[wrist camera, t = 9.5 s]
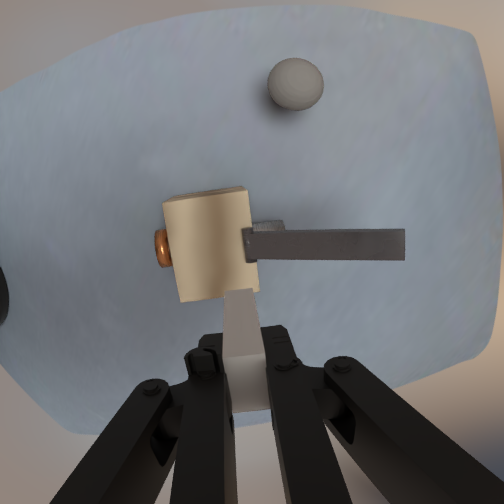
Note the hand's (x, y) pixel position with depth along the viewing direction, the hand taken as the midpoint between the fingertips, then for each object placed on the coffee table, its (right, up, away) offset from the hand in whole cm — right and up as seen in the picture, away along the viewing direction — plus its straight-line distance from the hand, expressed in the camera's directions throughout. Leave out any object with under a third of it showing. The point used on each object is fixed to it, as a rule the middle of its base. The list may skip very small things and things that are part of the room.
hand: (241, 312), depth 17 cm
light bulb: (+4, +21, +18) cm, 28 cm away
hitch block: (-4, +6, +21) cm, 22 cm away
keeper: (+7, +4, +10) cm, 13 cm away
